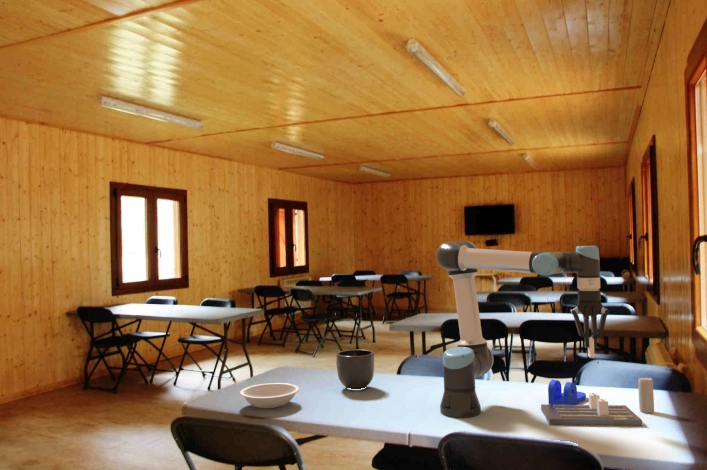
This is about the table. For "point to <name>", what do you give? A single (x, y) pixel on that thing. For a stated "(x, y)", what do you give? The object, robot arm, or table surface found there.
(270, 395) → the soup bowl
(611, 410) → the console
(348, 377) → the planter
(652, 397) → the beverage can
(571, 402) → the bracket
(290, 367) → the table surface
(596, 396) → the fader
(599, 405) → the fader
